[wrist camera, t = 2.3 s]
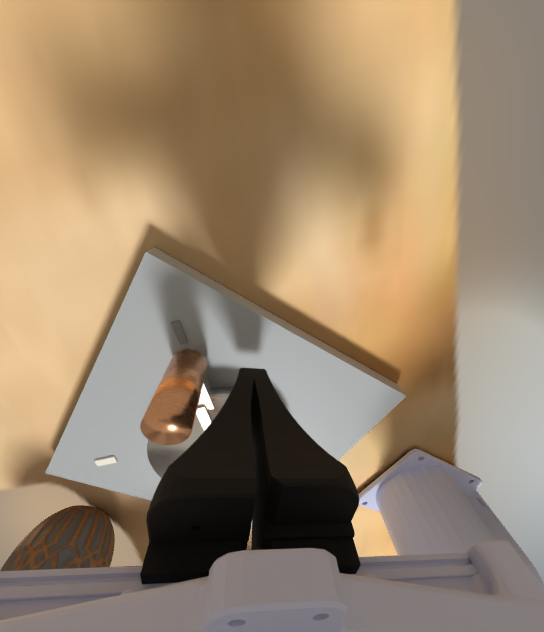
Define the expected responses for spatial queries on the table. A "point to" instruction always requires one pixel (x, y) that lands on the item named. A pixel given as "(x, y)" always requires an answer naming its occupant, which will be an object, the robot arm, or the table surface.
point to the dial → (180, 409)
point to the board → (223, 367)
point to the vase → (66, 542)
